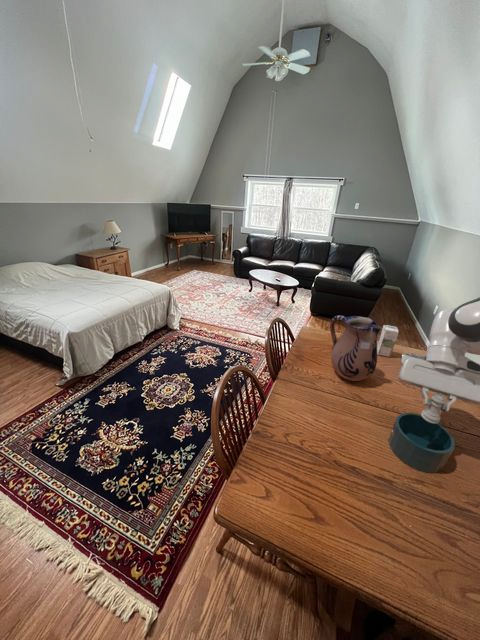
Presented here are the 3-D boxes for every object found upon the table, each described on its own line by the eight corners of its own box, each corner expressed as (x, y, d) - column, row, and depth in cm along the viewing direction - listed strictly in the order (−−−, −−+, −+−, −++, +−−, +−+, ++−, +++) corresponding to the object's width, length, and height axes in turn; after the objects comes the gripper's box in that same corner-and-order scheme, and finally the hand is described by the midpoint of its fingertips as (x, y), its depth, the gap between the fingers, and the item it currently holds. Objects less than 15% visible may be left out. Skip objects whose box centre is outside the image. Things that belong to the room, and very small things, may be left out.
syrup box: (388, 351, 134) (396, 326, 128) (390, 358, 129) (399, 331, 123) (375, 349, 136) (383, 324, 130) (377, 355, 131) (385, 329, 125)
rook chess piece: (418, 417, 76) (427, 395, 73) (423, 410, 79) (433, 388, 75) (436, 427, 73) (447, 404, 70) (441, 419, 76) (452, 397, 72)
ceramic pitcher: (368, 393, 104) (385, 337, 94) (315, 374, 114) (325, 321, 104) (373, 371, 118) (389, 320, 108) (326, 356, 128) (336, 308, 117)
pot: (435, 439, 85) (444, 420, 82) (451, 480, 73) (463, 460, 69) (385, 426, 90) (392, 407, 86) (392, 462, 77) (400, 442, 74)
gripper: (405, 347, 79) (395, 393, 75) (493, 369, 70) (487, 421, 67) (400, 353, 84) (391, 396, 80) (481, 374, 76) (475, 423, 72)
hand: (435, 408), depth 73 cm, fingers closed on rook chess piece, 3 cm apart
